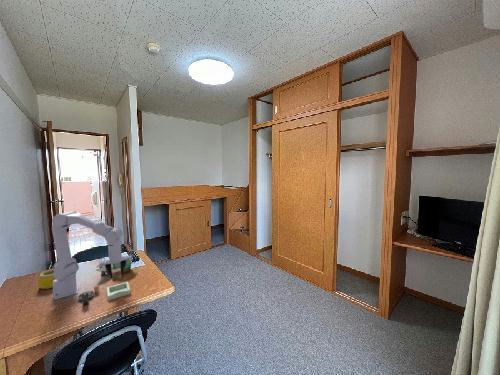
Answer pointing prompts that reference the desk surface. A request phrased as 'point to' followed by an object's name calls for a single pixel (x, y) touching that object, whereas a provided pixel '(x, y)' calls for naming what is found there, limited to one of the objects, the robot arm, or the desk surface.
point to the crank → (85, 297)
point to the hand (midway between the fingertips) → (116, 275)
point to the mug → (46, 279)
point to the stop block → (116, 274)
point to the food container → (126, 268)
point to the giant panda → (104, 269)
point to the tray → (118, 291)
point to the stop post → (96, 289)
